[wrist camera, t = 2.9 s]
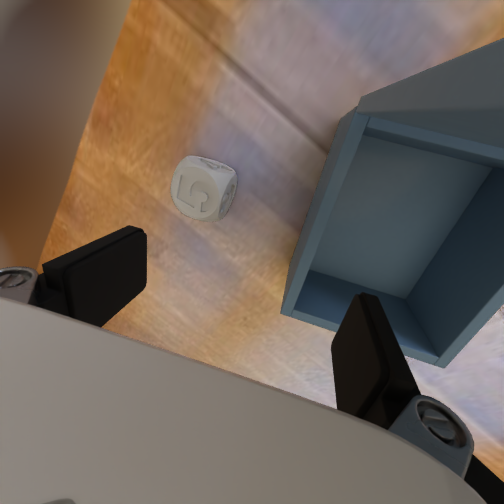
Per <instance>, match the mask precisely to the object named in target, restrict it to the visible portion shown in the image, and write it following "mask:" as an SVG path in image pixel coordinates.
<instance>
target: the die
mask: <svg viewBox="0 0 504 504" xmlns="http://www.w3.org/2000/svg"><path fill="white" fill-rule="evenodd" d="M236 187H237V175H236V173H235V171H234V170H233V169H232V168H231V167H229V166H227V165H225V164H223V163H220V162H218V161H215V160H212V159H208V158H204V157H200V156H187V157H185V158H183V159H182V160H181V161H180V163H179V164H178V166H177V167H176V170H175V172H174V174H173V178H172V182H171V197H172V200H173V202H174V204H175V206H176V207H177V209H178V210H179V211H180V212H181V213H182V214H184V215H186V216H188V217H190V218H193V219H196V220H199V221H205V222H216V221H219V220H221V219H223V218H224V216H225V215H226V213H227V212H228V210H229V208H230V206H231V203H232V201H233V198H234V195H235V191H236Z"/></svg>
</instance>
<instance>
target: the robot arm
mask: <svg viewBox="0 0 504 504" xmlns="http://www.w3.org/2000/svg"><path fill="white" fill-rule="evenodd" d="M42 267H43V271H44V273H42V274H40V275H38V272H37V271H36V270H35V269H32V268H29V267H7V268H2V269H0V504H504V482H503V481H501V480H500V479H499V478H498V477H497V476H496V475H495V474H494V473H493V472H492V471H491V470H489V469H488V468H487V467H486V466H485V465H484V464H483V463H482V462H481V461H480V460H478V459H477V458H476V457H475V456H474V455H473V451H474V441H473V438H472V435H471V433H470V431H469V430H468V428H467V427H466V425H465V424H464V422H463V421H462V420H461V419H460V418H459V417H458V416H457V415H456V414H455V413H454V412H453V411H452V410H451V409H450V408H449V407H447V406H446V405H444V404H443V403H441V402H440V401H438V400H436V399H434V398H432V397H429V396H425V395H421V393H420V391H419V389H418V386H417V384H416V382H415V379H414V377H413V375H412V372H411V370H410V368H409V366H408V363H407V361H406V359H405V357H404V354H403V352H402V350H401V348H400V345H399V343H398V341H397V339H396V336H395V334H394V332H393V330H392V327H391V325H390V323H389V321H388V318H387V316H386V314H385V312H384V309H383V307H382V305H381V303H380V300H379V298H378V297H377V296H375V295H372V294H368V293H365V292H361V293H360V295H359V294H355V296H354V297H353V300H352V302H351V304H350V306H349V308H348V310H347V312H346V314H345V316H344V318H343V320H342V322H341V324H340V326H339V329H338V331H337V333H336V335H335V337H334V339H333V341H332V345H331V354H332V363H333V373H334V383H335V393H336V402H337V409H334V408H332V407H329V406H326V405H323V404H320V403H318V402H315V401H312V400H309V399H307V398H304V397H301V396H298V395H296V394H293V393H290V392H287V391H284V390H281V389H278V388H275V387H273V386H270V385H267V384H264V383H261V382H258V381H255V380H252V379H250V378H247V377H244V376H241V375H238V374H235V373H232V372H229V371H227V370H224V369H221V368H218V367H215V366H212V365H209V364H206V363H203V362H200V361H198V360H195V359H192V358H189V357H186V356H183V355H180V354H177V353H174V352H171V351H168V350H165V349H162V348H160V347H157V346H154V345H151V344H148V343H145V342H142V341H139V340H136V339H133V338H130V337H127V336H124V335H121V334H118V333H115V332H112V331H109V330H106V329H103V328H101V327H102V326H103V325H104V324H105V323H106V322H107V321H109V320H110V319H111V318H112V317H113V316H114V315H115V314H117V313H118V312H119V311H120V310H121V309H122V308H123V307H125V306H126V305H127V304H128V303H129V302H130V301H131V300H133V299H134V298H135V297H136V296H137V295H138V294H139V293H140V292H142V291H143V290H144V288H145V287H146V283H147V235H146V233H144V230H143V229H141V228H137V227H134V226H130V225H129V226H126V227H124V228H122V229H120V230H117V231H115V232H113V233H111V234H108V235H106V236H104V237H102V238H100V239H97V240H95V241H93V242H91V243H89V244H86V245H84V246H82V247H80V248H77V249H75V250H73V251H71V252H69V253H66V254H64V255H62V256H60V257H57V258H55V259H53V260H51V261H49V262H46V263H44V264H42Z"/></svg>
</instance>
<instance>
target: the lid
mask: <svg viewBox="0 0 504 504" xmlns="http://www.w3.org/2000/svg"><path fill="white" fill-rule="evenodd" d="M356 113H358V114H362V115H366V116H371V117H375V118H379V119H383V120H387V121H391V122H396V123H400V124H404V125H408V126H412V127H416V128H421V129H425V130H429V131H433V132H437V133H441V134H445V135H450V136H454V137H458V138H462V139H466V140H470V141H475V142H479V143H483V144H487V145H491V146H495V147H499V148H504V38H502V39H500V40H498V41H495V42H493V43H490V44H488V45H485V46H483V47H481V48H478V49H476V50H473V51H471V52H469V53H466V54H464V55H461V56H459V57H456V58H454V59H452V60H449V61H447V62H444V63H442V64H439V65H437V66H435V67H432V68H430V69H427V70H425V71H423V72H420V73H418V74H415V75H413V76H410V77H408V78H406V79H403V80H401V81H398V82H396V83H394V84H391V85H389V86H386V87H384V88H381V89H379V90H377V91H374V92H372V93H369V94H367V95H364V96H362V97H361V99H360V102H359V104H358V107H357V109H356Z"/></svg>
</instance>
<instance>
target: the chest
mask: <svg viewBox="0 0 504 504" xmlns="http://www.w3.org/2000/svg"><path fill="white" fill-rule="evenodd" d="M357 107H358V106H357ZM357 107H355V108H354V109H353V110H351V111H350V112H349V113H347V114H346V115H345V116H344V117H342V118H341V119H340V122H339V125H338V128H337V131H336V133H335V136H334V139H333V142H332V145H331V148H330V151H329V154H328V156H327V159H326V162H325V165H324V168H323V171H322V174H321V176H320V179H319V182H318V185H317V188H316V191H315V194H314V196H313V199H312V202H311V205H310V208H309V211H308V214H307V216H306V219H305V222H304V225H303V228H302V231H301V234H300V237H299V239H298V242H297V245H296V248H295V251H294V254H293V257H292V259H291V262H290V265H289V270H288V275H287V280H286V286H285V291H284V296H283V302H282V307H281V312H280V313H281V314H283V315H286V316H289V317H290V316H291V317H292V318H295V319H298V320H301V321H304V322H307V323H310V324H313V325H316V326H319V327H322V328H325V329H328V330H331V331H334V332H337V331H338V329H339V326H340V324H341V322H342V320H343V318H344V316H345V314H346V312H347V310H348V308H349V306H350V304H351V302H352V300H353V297H354V296H355V294H359V295H360V293H361V292H365V293H368V294H372V295H375V296H377V297H378V298H379V300H380V303H381V305H382V307H383V309H384V312H385V314H386V316H387V318H388V321H389V323H390V325H391V327H392V330H393V332H394V334H395V336H396V339H397V341H398V343H399V345H400V348H401V350H402V352H403V354H404V355H405V356H408V357H411V358H414V359H417V360H420V361H423V362H426V363H429V364H432V365H435V366H438V367H441V368H445V367H446V366H447V365H448V364H449V363H450V362H451V361H452V360H453V359H454V357H455V356H456V355H457V354H458V353H459V352H460V351H461V350H462V349H463V348H464V346H465V345H466V344H467V343H468V342H469V341H470V340H471V339H472V338H473V337H474V336H475V334H476V333H477V332H478V331H479V330H480V329H481V328H482V327H483V326H484V325H485V323H486V322H487V321H488V320H489V319H490V318H491V317H492V316H493V315H494V314H495V313H496V311H497V310H498V309H499V308H500V307H501V306H502V305H503V304H504V148H499V147H495V146H491V145H487V144H483V143H479V142H475V141H470V140H466V139H462V138H458V137H454V136H450V135H445V134H441V133H437V132H433V131H429V130H425V129H421V128H416V127H412V126H408V125H404V124H400V123H396V122H391V121H387V120H383V119H379V118H375V117H371V116H366V115H362V114H358V113H356V109H357Z"/></svg>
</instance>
